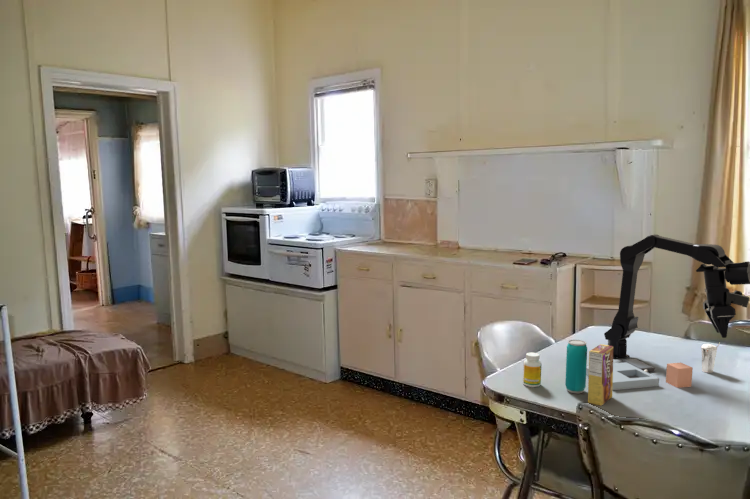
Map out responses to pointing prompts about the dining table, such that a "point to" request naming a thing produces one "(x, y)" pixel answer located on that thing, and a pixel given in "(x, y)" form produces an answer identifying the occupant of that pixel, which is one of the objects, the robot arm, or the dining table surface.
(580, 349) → the beverage can
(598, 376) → the candy box
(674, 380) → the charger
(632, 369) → the outlet plate
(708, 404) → the dining table surface
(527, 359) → the supplement bottle
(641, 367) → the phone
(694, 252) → the robot arm
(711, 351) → the milkshake
